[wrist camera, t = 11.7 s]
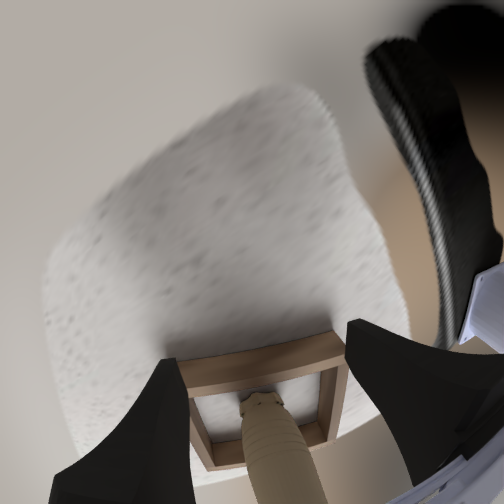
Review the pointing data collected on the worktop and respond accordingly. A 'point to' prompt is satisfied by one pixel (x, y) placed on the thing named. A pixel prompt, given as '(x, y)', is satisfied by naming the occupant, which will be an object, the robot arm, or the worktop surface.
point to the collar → (264, 373)
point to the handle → (277, 454)
